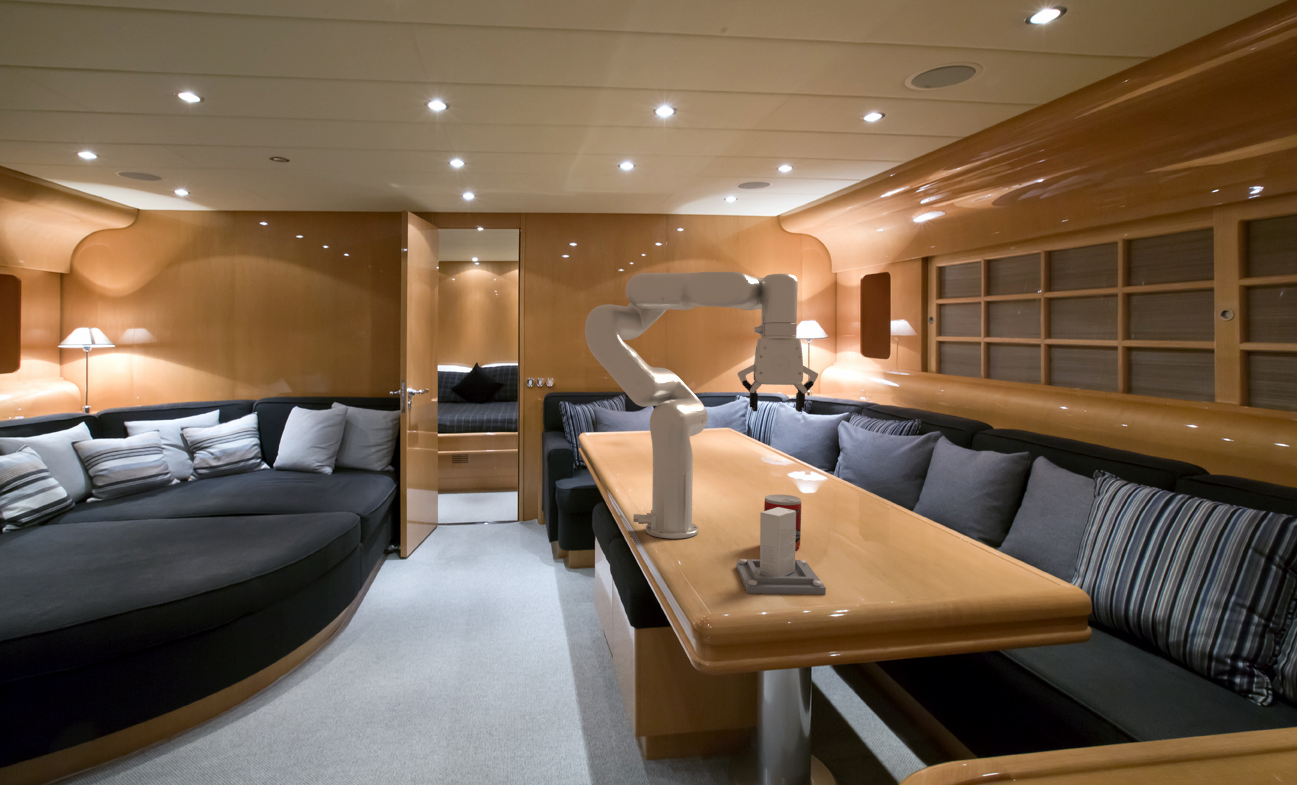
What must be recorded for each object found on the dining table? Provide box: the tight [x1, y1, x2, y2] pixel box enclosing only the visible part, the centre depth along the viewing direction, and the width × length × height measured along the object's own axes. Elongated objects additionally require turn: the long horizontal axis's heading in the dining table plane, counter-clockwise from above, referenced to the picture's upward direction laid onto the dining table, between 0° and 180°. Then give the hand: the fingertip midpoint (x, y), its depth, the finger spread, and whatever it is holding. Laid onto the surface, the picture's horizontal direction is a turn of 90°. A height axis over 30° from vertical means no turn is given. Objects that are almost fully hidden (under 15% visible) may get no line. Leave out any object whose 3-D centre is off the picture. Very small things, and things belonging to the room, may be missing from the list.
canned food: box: [763, 494, 802, 552], centre depth 142 cm, size 8×8×11 cm
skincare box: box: [759, 507, 796, 576], centre depth 121 cm, size 6×4×12 cm
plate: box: [735, 558, 827, 595], centre depth 121 cm, size 14×14×2 cm
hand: (776, 411), depth 139 cm, fingers open, 9 cm apart
